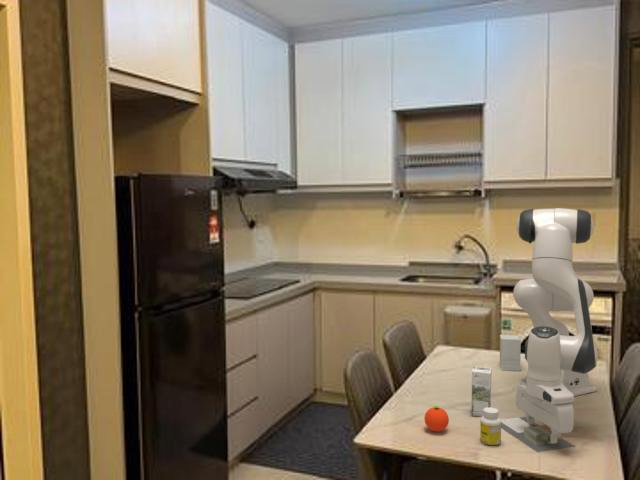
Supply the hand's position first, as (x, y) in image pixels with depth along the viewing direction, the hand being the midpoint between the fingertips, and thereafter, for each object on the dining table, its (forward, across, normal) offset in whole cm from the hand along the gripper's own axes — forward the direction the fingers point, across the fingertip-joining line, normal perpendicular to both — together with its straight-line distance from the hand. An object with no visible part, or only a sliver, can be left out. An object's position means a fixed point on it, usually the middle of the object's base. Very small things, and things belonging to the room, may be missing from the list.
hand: (542, 436), depth 158 cm
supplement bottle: (+2, -3, -14) cm, 15 cm away
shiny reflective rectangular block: (+1, 0, 0) cm, 1 cm away
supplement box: (+2, -63, +32) cm, 71 cm away
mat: (+2, -5, 0) cm, 5 cm away
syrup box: (+2, -23, -5) cm, 24 cm away
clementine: (+2, -16, -24) cm, 29 cm away
